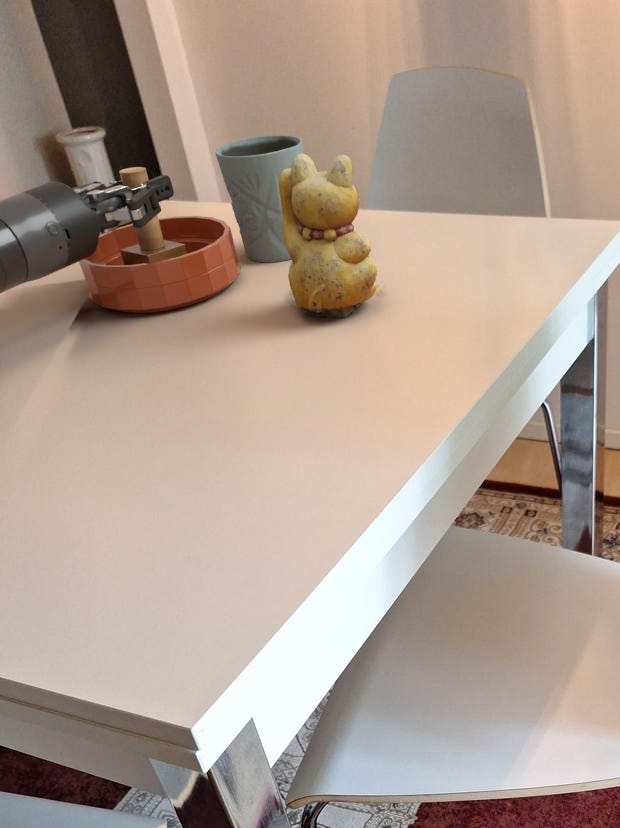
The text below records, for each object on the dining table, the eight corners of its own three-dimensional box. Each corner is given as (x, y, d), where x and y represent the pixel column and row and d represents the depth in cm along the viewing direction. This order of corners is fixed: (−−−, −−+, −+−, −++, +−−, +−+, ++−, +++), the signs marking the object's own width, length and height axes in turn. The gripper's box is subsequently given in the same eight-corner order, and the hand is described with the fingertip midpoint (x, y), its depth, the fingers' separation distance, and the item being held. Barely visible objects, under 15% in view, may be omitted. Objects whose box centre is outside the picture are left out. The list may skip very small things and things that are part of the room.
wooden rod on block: (129, 285, 107) (98, 172, 100) (165, 273, 110) (137, 163, 103) (157, 292, 105) (126, 177, 97) (193, 279, 108) (166, 166, 100)
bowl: (80, 325, 102) (61, 275, 98) (109, 272, 115) (93, 226, 111) (235, 305, 102) (221, 255, 99) (246, 255, 115) (235, 208, 112)
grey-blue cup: (226, 263, 114) (199, 157, 106) (264, 235, 121) (241, 134, 113) (300, 264, 111) (277, 155, 103) (334, 236, 118) (315, 132, 110)
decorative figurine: (389, 295, 101) (367, 144, 91) (369, 325, 95) (342, 167, 85) (306, 296, 103) (275, 148, 93) (281, 326, 97) (245, 172, 87)
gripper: (7, 264, 98) (125, 214, 109) (98, 278, 92) (213, 223, 103) (-25, 189, 93) (102, 144, 104) (70, 198, 87) (194, 149, 98)
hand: (157, 184), depth 103 cm, fingers open, 3 cm apart
